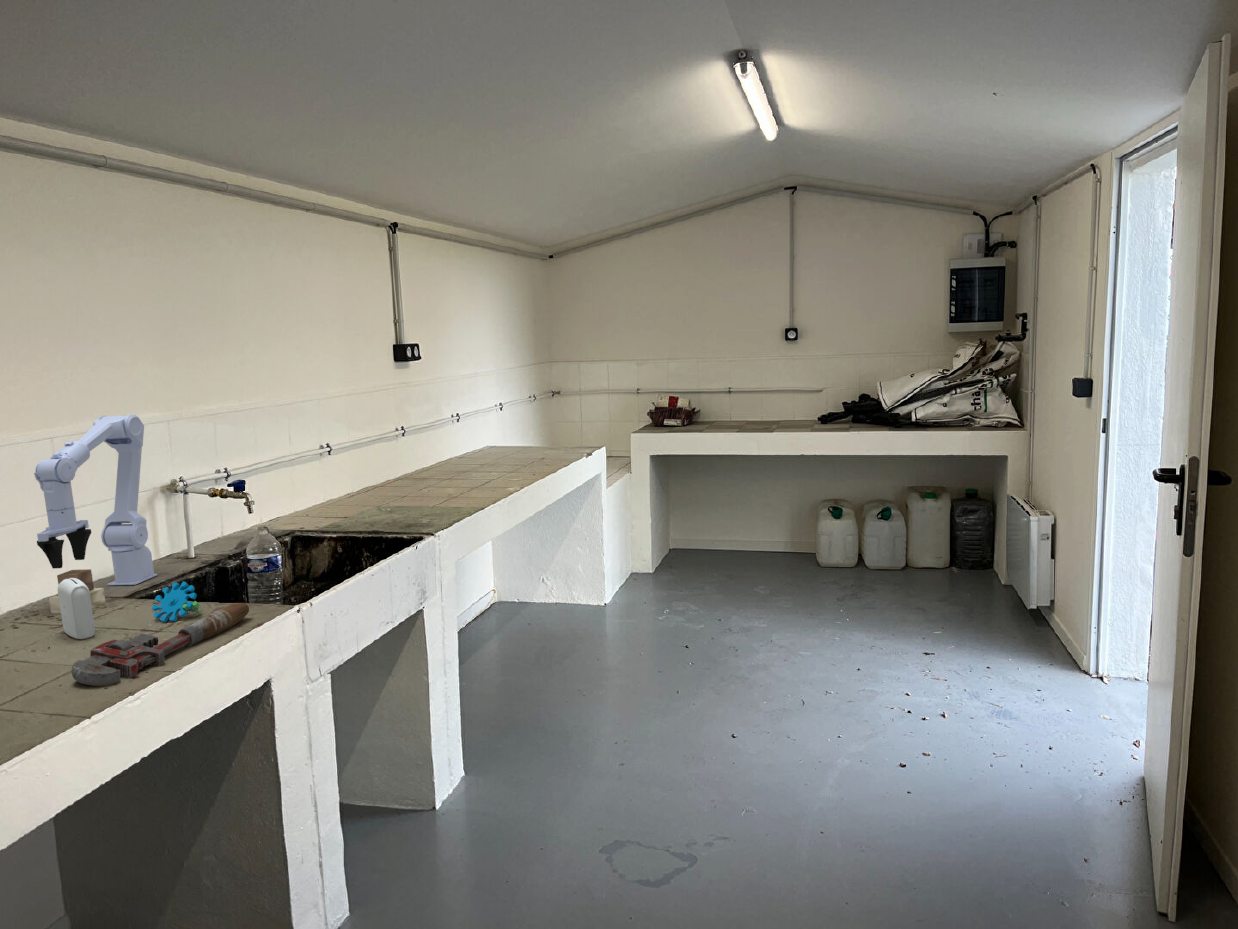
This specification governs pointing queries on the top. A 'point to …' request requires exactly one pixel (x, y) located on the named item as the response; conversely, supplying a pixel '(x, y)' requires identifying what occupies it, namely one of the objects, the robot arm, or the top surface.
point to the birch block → (95, 597)
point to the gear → (176, 602)
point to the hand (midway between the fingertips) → (68, 563)
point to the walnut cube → (78, 577)
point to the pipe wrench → (149, 648)
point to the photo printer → (76, 608)
